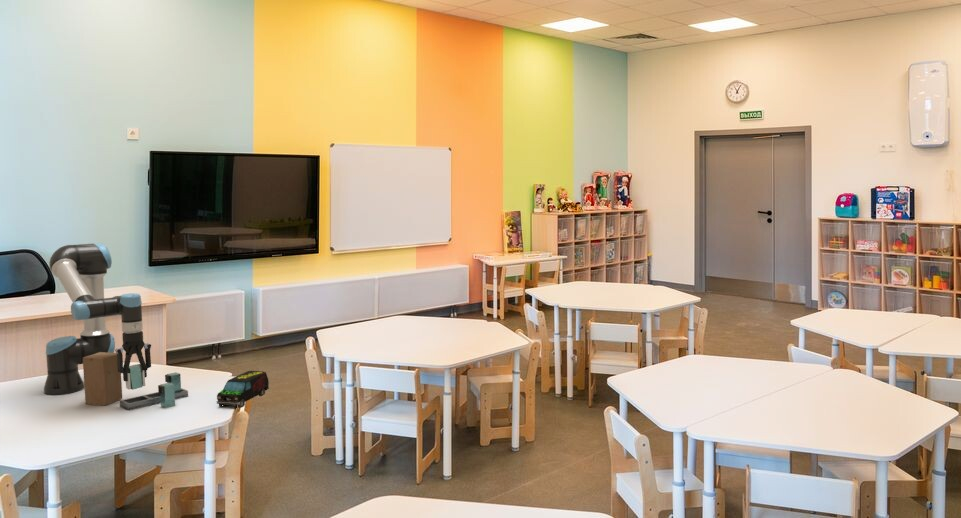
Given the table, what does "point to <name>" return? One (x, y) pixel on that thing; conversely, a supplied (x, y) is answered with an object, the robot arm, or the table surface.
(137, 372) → the teal rectangular block
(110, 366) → the wooden block
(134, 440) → the table surface
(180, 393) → the rail
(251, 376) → the toy van
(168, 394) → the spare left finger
